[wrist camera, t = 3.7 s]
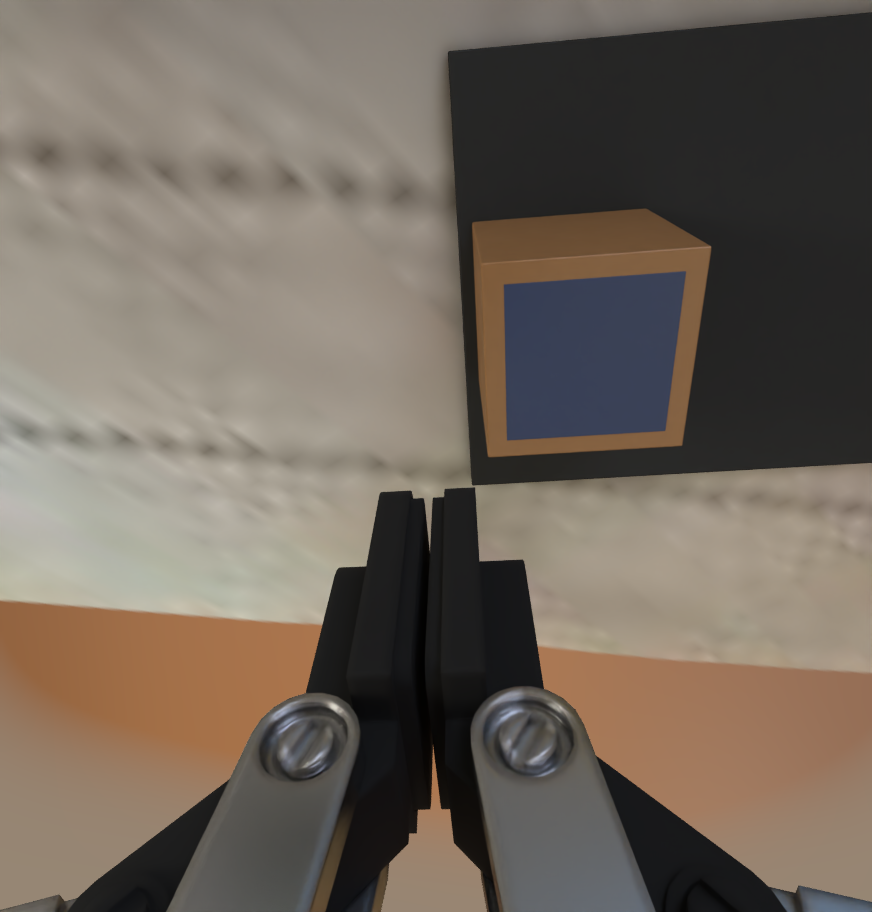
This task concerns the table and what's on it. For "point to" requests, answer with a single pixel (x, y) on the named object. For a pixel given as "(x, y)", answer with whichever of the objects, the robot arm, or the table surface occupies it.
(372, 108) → the table surface
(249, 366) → the table surface
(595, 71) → the mat
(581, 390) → the box
